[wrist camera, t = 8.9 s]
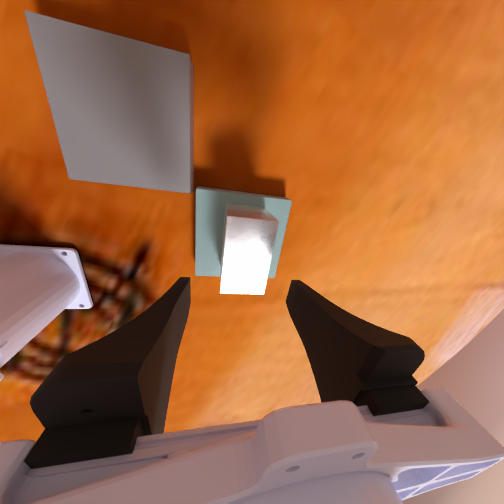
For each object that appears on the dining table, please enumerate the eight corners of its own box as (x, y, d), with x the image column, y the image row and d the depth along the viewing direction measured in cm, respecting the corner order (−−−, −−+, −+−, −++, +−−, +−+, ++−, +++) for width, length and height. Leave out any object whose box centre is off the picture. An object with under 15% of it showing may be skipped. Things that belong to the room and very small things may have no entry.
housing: (220, 265, 20) (220, 293, 16) (225, 203, 17) (227, 215, 13) (254, 267, 21) (263, 294, 17) (265, 207, 18) (279, 221, 14)
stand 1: (85, 177, 16) (69, 179, 15) (52, 31, 12) (23, 9, 11) (193, 190, 18) (190, 193, 17) (193, 67, 14) (189, 54, 13)
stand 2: (197, 266, 22) (195, 275, 20) (198, 186, 18) (195, 188, 16) (270, 269, 24) (274, 278, 22) (285, 197, 20) (292, 200, 18)
